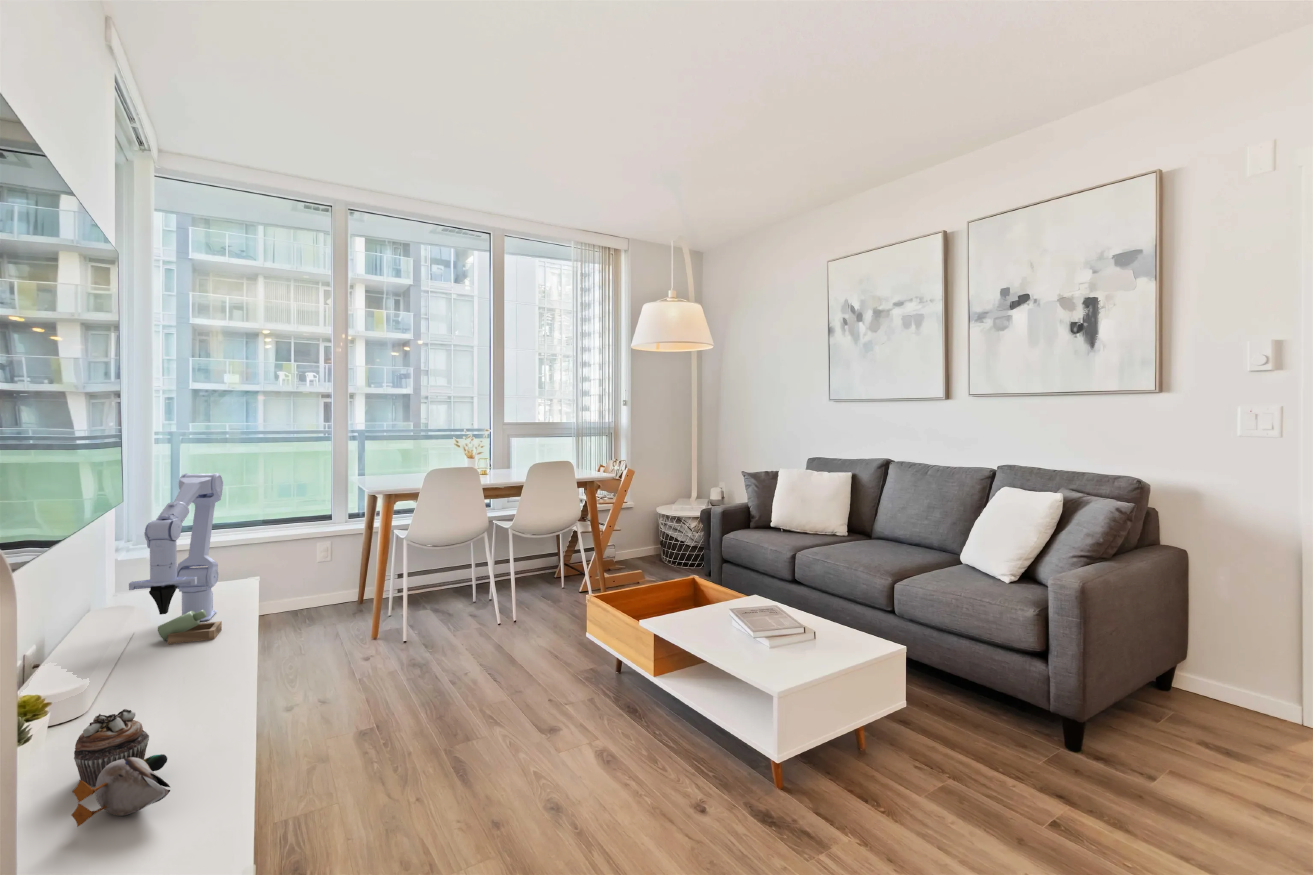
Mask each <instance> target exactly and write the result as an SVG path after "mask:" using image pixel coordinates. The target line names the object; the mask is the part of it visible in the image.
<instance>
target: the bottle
mask: <svg viewBox="0 0 1313 875" xmlns="http://www.w3.org/2000/svg"><path fill="white" fill-rule="evenodd" d="M205 617H207V614H206V612H205V611H204V610H201V611H199V612H197V613H195V612H194V611H190V612H188V613H186V614H183V615H182V614H181V615H180V616H177V617H175V618H173V619H171V620H169V621H166V622H164V623H163V624H160V625H158V626H157V632H158V635H159V637H160V638H161V639H162V640H164V641H168V634H170V633H179V632H185V631H187V630H189V629H191V628H193V627H195V626H197V625H199V624H200V623H201V621H199V620H201V619H203V618H205Z"/></svg>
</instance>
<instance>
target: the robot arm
mask: <svg viewBox="0 0 1313 875" xmlns="http://www.w3.org/2000/svg"><path fill="white" fill-rule="evenodd" d="M223 488H224V480H223V476H222V475H221V474H220V473H219V472H215V473H183V474H181V476H180V478H179V479H178V489H179V491H178V493H177V495H176V497H175V499H174V501H171V502H168V503H166V505H165V506H164V508H163V509H162V511H161V512H160V513H159V515H158V516H157V518H156V519H155V520H151V521H150V522H148V523H146V525H145V528H144V532H143V533H144V534H143V535H144V538H145V540H146V547H147V549H149V579H144V580H135V581H130V582H128V590H129V591H134V590H140V589H142V590H143V589H149V591H148V594H149V595H150V596H151V598H152V599H153V601H154V602H155V604H156V608H157V609H158V613H159V615H161V616H162V615H167V614H168V613H169V609H170V604H171V601H172V598H174V594H175V593H176V591H177V590H178V592H180V593H181V615H183V614H186V613H188V612H190V611H194V612H195V613H197V612H199V611H201V610H204V611H205V612H206V614H207V617H205V618H203V619H201V620H199V621H200V622H205V621H210V620H211V619H212V617H213V616H214V615H215V614H216V613H217V611H218V610H216V609H215V610H214V593H213V592H214V591H213V590H212V589H213V588H214V587H215V586H216V584H217V583H218V581H219V564H218V562H217V561H216V560H214V559H213V558H212V557H211V556H209V554H210V553H209V552H210V545H211V537H212V530H213V522H214V521H213V520H214V515H215V508H216V503H218V502H220V501H221V500H222V495H223ZM191 504H193V505H194V513H193V521H192V526H191V535H190V543H189V548H188V549H189V551H188V556H187V557H186V558H184V559H183V560H182V561H180V562H178V561H177V540H178V539H179V538H180V536H181V533H182V529H183V523H184V521H185V519H186V518H187V517H188V515H189V513H190V508H189V506H190V505H191Z"/></svg>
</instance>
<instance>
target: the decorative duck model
mask: <svg viewBox="0 0 1313 875" xmlns="http://www.w3.org/2000/svg"><path fill="white" fill-rule="evenodd" d="M167 762H168V757H167V755H166V754H162V753H161V754H154V755H151V756H148V757H145V758H144V760H142V759H139V758H134V757H132V758H125V759H121V760H117V761H114V762H112V763H110V764H109V765H107V766H106V767H105V768H104V769H103V770H102V771H101V773H100V774H99V776H98V779H97V782H96V787H90V786H89V785H88V784H87V783H85V782H84V781H82V780H81V779H79V782H78V783H77V786H75V788H74V789H73V790H72V791H71V792H72V793H73V794H74V796H75V797H76V799H77V805H76V806H77V807H76V809H75V810H74V811H73V813H71V817H72V818H73V819H74V820H75V823H76V825H77V826H76V827H80V826H81V825H83V824H84V823H85V822H87V821H88V820H89V819H90V818H92V817H93V816H94V815H96V814H97V813H99V812H101V811H103V810H104V811H105V812H106V813H108V814H111V815H113V816H127V815H131V814H134V813H136V812H139V811H141V810H142V809H145V808H146V807H148V806H150V805H153V804H155V803H157V802H160V801H161V800H163V799H165V798H166V797H167V796H168V794H169V793H170V792H171V789H167V788H171V786H170V784H169V783H168V782H167V781H165V780H164V779H163V778H161V777H160V776H159V775H158V774H157V773H156V772H157V771H159V770H161V769H163V768H164V766H165V765H166V763H167ZM94 793H95V798H96V801H97V804H98V805H99V807H100V808H98V809H96V810H91V809H89V808H87V807H86V806H84V805H83V804H81V802H82V801H84V800H85V799H87V798H89V797H90V796H91V795H93V794H94Z"/></svg>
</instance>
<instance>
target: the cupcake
mask: <svg viewBox="0 0 1313 875" xmlns="http://www.w3.org/2000/svg"><path fill="white" fill-rule="evenodd" d="M135 718H136V712H134V711H132V710H131V709H126V708H125V709H122V710H121V711H120V712H118V713H117V714H116V713H112V714H108V715H107V714H106V715H105V714H101V713H98V715H95V717H94V718H93V721H91V722H89V725H88V726H87V727H85V728H84V729H83V731H82V733H81V734H80V735H79V736H78V738H77V740H76V742H75V746H74V752H73V753H74V754H73V756H74V757H73V759H74V762H75V765H76V768H77V772H78V775H79V778H80V779H79V780H82V781H84V782H85V783H87V784H88V785H89V786H90V787H91V788H96V782H97V779H98V776H99V774H100V773H101V771H102V770H103V769H104V768H105V767H106V766H107V765H109V764H110V763H112V762H114V761H117V760H121V759H125V758H132V757H134V758H139V759H142V760H144V759H146V754H147V753H146V752H147V748H148V745H149V741H150V734H149V733H147V731H146V730H144V728H143V724H142V723H141V722H140V721H138V720H136V719H135Z"/></svg>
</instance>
